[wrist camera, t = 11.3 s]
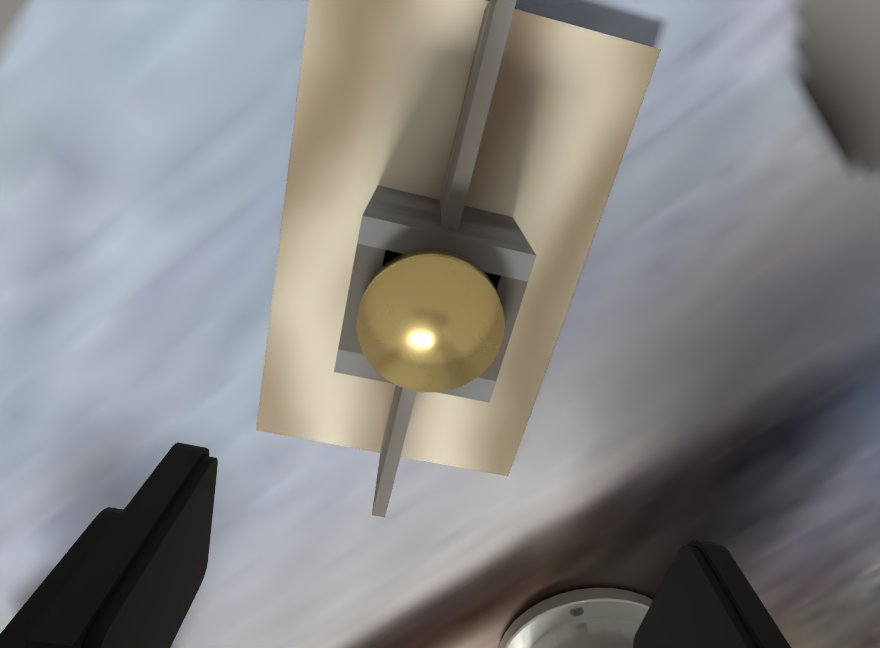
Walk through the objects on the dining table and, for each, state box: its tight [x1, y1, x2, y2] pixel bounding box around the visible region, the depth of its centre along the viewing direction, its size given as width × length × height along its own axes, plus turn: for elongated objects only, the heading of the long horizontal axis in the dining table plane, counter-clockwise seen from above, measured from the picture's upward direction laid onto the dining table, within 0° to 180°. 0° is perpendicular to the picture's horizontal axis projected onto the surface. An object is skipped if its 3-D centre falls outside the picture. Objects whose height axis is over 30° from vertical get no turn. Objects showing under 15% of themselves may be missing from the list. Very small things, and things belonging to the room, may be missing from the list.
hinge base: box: [256, 0, 661, 517], centre depth 23 cm, size 14×22×7 cm, turn 167°
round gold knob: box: [357, 249, 505, 392], centre depth 22 cm, size 5×5×6 cm
